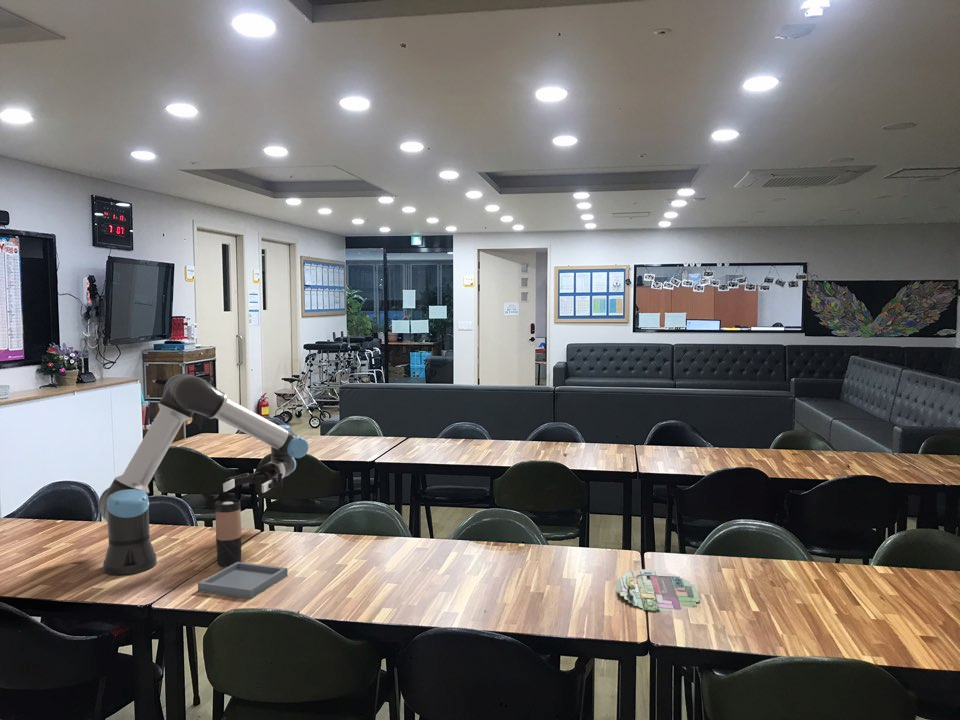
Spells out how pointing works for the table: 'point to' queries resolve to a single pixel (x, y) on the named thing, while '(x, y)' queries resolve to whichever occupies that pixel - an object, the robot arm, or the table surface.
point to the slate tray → (243, 580)
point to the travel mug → (228, 532)
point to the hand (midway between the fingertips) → (243, 488)
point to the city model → (657, 590)
